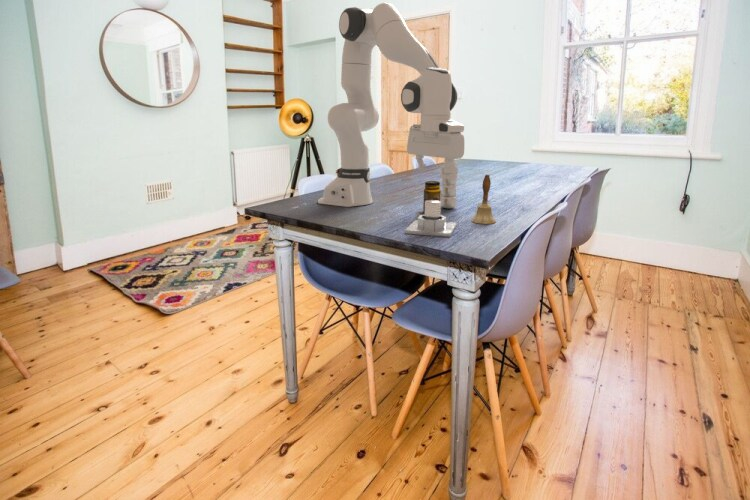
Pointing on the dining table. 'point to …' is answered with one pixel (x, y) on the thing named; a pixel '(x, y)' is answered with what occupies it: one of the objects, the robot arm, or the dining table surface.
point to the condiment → (430, 193)
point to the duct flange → (431, 227)
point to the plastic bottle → (449, 187)
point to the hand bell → (484, 206)
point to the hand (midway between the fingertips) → (433, 171)
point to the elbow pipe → (432, 210)
